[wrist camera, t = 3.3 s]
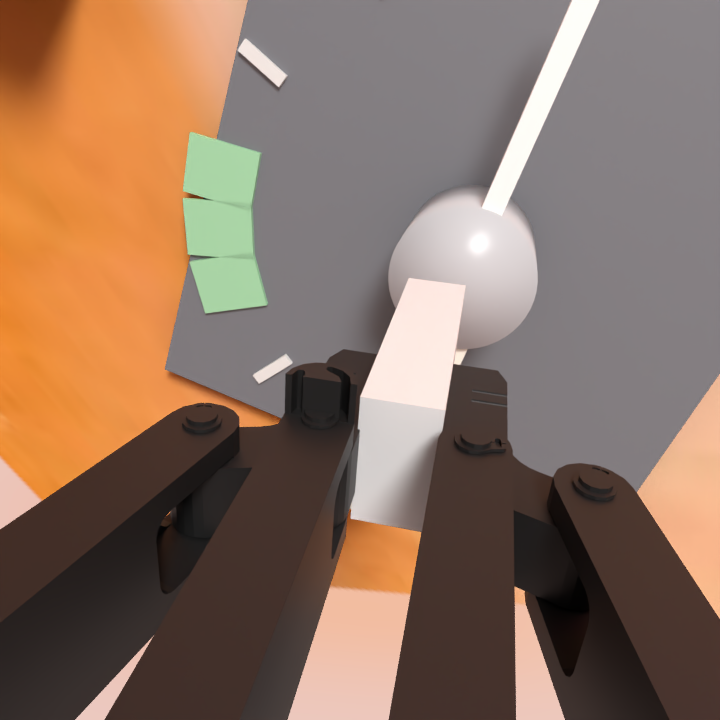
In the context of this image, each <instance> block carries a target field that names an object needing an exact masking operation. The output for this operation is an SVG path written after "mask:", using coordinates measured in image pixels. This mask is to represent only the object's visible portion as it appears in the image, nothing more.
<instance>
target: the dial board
mask: <svg viewBox="0 0 720 720" xmlns="http://www.w3.org/2000/svg"><path fill="white" fill-rule="evenodd" d="M570 2H571V0H248V2H247V7H246V11H245V16H244V20H243V24H242V29H241V33H240V38H239V42H238V47H237V51H236V56H235V60H234V64H233V69H232V73H231V78H230V82H229V87H228V91H227V95H226V100H225V104H224V109H223V113H222V118H221V122H220V127H219V131H218V135H217V139H214V138H210V137H207V136H204V135H201V134H197V133H194V132H190V135H189V144H188V152H187V160H186V169H185V177H184V185H183V191H185V192H188V193H191V194H194V195H197V196H201V197H204V198H203V199H196V198H183V207H184V218H185V229H186V239H187V250H188V255H190V260H189V264H188V269H187V273H186V278H185V282H184V286H183V291H182V295H181V300H180V304H179V309H178V313H177V317H176V322H175V326H174V331H173V335H172V340H171V344H170V349H169V353H168V357H167V362H166V366H165V370H168V371H170V372H173V373H175V374H177V375H180V376H182V377H184V378H187V379H189V380H192V381H194V382H196V383H199V384H201V385H203V386H206V387H208V388H211V389H213V390H215V391H218V392H220V393H222V394H225V395H227V396H230V397H232V398H234V399H237V400H239V401H241V402H244V403H246V404H249V405H251V406H253V407H256V408H258V409H260V410H263V411H265V412H267V413H270V414H272V415H275V416H277V417H279V418H282V417H283V415H284V413H285V374H286V373H287V372H288V371H289V370H290V369H292V368H293V367H296V366H299V365H302V364H307V363H315V362H317V363H326V362H327V361H328V359H329V357H331V356H333V355H334V354H336V353H338V352H339V351H341V350H343V349H346V350H353V351H359V352H366V353H373V354H378V352H379V350H380V347H381V345H382V342H383V340H384V337H385V335H386V332H387V330H388V328H389V325H390V323H391V320H392V318H393V315H394V313H395V310H396V308H395V306H394V304H393V301H392V299H391V295H390V291H389V283H388V272H389V265H390V261H391V257H392V254H393V252H394V250H395V248H396V245H397V244H398V242H399V241H400V239H401V237H402V236H403V234H404V233H405V231H406V229H407V228H408V226H409V225H410V223H411V221H412V220H413V218H414V217H415V215H416V214H417V212H418V211H419V210H420V208H421V207H422V206H423V205H424V204H425V203H426V202H427V201H428V200H429V199H431V198H432V197H434V196H435V195H436V194H438V193H440V192H442V191H444V190H447V189H449V188H452V187H457V186H461V185H481V186H486V187H490V186H491V183H492V181H493V179H494V177H495V174H496V172H497V170H498V167H499V165H500V163H501V160H502V158H503V156H504V154H505V151H506V149H507V147H508V144H509V142H510V140H511V138H512V135H513V133H514V131H515V128H516V126H517V124H518V121H519V119H520V117H521V115H522V112H523V110H524V108H525V105H526V103H527V101H528V98H529V96H530V94H531V92H532V89H533V87H534V85H535V82H536V80H537V78H538V75H539V73H540V71H541V69H542V66H543V64H544V62H545V59H546V57H547V55H548V52H549V50H550V48H551V46H552V43H553V41H554V39H555V36H556V34H557V32H558V29H559V27H560V25H561V23H562V20H563V18H564V16H565V13H566V11H567V9H568V6H569V4H570ZM510 198H511V199H513V200H514V201H515V202H516V203H517V204H518V205H519V206H520V207H521V208H522V210H523V211H524V213H525V214H526V216H527V217H528V219H529V221H530V224H531V226H532V229H533V233H534V238H535V248H536V260H537V272H538V284H537V292H536V295H535V299H534V302H533V304H532V307H531V309H530V311H529V313H528V314H527V316H526V318H525V319H524V320H523V321H522V323H521V324H520V325H519V326H518V327H517V328H516V329H515V330H514V331H513V332H511V333H510V334H509V335H507V336H506V337H504V338H503V339H501V340H499V341H497V342H495V343H493V344H490V345H487V346H484V347H480V348H474V349H468V350H467V352H466V354H465V356H464V358H463V360H462V362H461V364H460V365H464V366H471V367H478V368H484V369H491V370H498V371H499V373H500V374H501V375H502V376H503V378H504V379H505V380H506V381H507V419H508V441H509V442H510V444H511V447H512V449H513V456H514V457H515V458H517V459H518V460H519V461H520V462H521V463H523V464H524V465H526V466H527V467H529V468H531V469H533V470H536V471H538V472H540V473H543V474H546V475H548V476H551V477H553V476H554V474H555V473H556V471H557V469H558V468H561V467H563V466H565V465H567V464H576V463H584V464H591V465H597V466H601V467H602V468H603V467H604V468H606V469H609V470H611V471H613V472H614V473H616V474H618V475H619V476H621V477H623V478H624V479H625V480H626V481H627V482H628V483H629V484H630V485H631V486H632V487H633V488H634V490H635V491H636V492H637V491H638V489H639V488H640V487H641V485H642V484H643V482H644V481H645V479H646V478H647V477H648V475H649V474H650V472H651V471H652V469H653V468H654V467H655V465H656V464H657V462H658V461H659V459H660V458H661V457H662V455H663V454H664V452H665V451H666V449H667V448H668V447H669V445H670V444H671V442H672V441H673V439H674V438H675V437H676V435H677V434H678V432H679V431H680V430H681V428H682V427H683V425H684V424H685V422H686V421H687V420H688V418H689V417H690V415H691V414H692V412H693V411H694V410H695V408H696V407H697V405H698V404H699V402H700V401H701V400H702V398H703V397H704V395H705V394H706V392H707V391H708V390H709V388H710V387H711V385H712V384H713V382H714V381H715V380H716V378H717V377H718V375H719V374H720V0H600V1H599V3H598V5H597V7H596V9H595V12H594V14H593V16H592V18H591V20H590V23H589V25H588V27H587V29H586V31H585V34H584V36H583V38H582V40H581V42H580V45H579V47H578V49H577V51H576V53H575V56H574V58H573V60H572V62H571V65H570V67H569V69H568V71H567V73H566V76H565V78H564V80H563V82H562V84H561V87H560V89H559V91H558V93H557V95H556V98H555V100H554V102H553V104H552V106H551V109H550V111H549V113H548V115H547V117H546V120H545V122H544V124H543V126H542V128H541V131H540V133H539V135H538V137H537V139H536V142H535V144H534V146H533V148H532V151H531V153H530V155H529V157H528V159H527V162H526V164H525V166H524V168H523V170H522V173H521V175H520V177H519V179H518V181H517V184H516V186H515V188H514V190H513V192H512V195H511V197H510Z"/></svg>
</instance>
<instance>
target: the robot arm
mask: <svg viewBox="0 0 720 720" xmlns="http://www.w3.org/2000/svg"><path fill="white" fill-rule="evenodd" d="M465 287H466V285H459V284H451V283H444V282H436V281H428V280H421V279H413V278H409V279H408V281H407V283H406V286H405V288H404V291H403V293H402V296H401V298H400V301H399V303H398V306H397V308H396V310H395V313H394V315H393V318H392V320H391V323H390V325H389V328H388V330H387V332H386V335H385V337H384V340H383V342H382V345H381V347H380V350H379V352H378V354H373V353H366V352H359V351H353V350H346V349H343V350H341V351H339V352H338V353H336V354H334V355H333V356H331V357H329V359H328V361H327V362H326V363H317V362H315V363H307V364H302V365H299V366H296V367H293V368H292V369H290V370H289V371H288V372H287V373H286V374H285V413H284V415H283V417H282V418H281V420H280V422H279V423H278V424H276V425H272V426H263V427H239V417H238V415H237V414H236V413H235V412H234V411H233V410H231V409H229V408H227V407H225V406H222V405H217V404H212V403H206V404H204V403H197V404H194V405H189V406H185V407H182V408H180V409H178V410H176V411H174V412H172V413H170V414H169V415H167V416H166V417H165V418H163V419H162V420H160V421H159V422H157V423H156V424H154V425H153V426H151V427H150V428H148V429H147V430H145V431H144V432H143V433H141V434H140V435H138V436H137V437H135V438H134V439H132V440H131V441H129V442H128V443H126V444H125V445H123V446H122V447H121V448H119V449H118V450H116V451H115V452H113V453H112V454H110V455H109V456H107V457H106V458H104V459H103V460H101V461H100V462H99V463H97V464H96V465H94V466H93V467H91V468H90V469H88V470H87V471H85V472H84V473H82V474H81V475H79V476H78V477H77V478H75V479H74V480H72V481H71V482H69V483H68V484H66V485H65V486H63V487H62V488H60V489H59V490H58V491H56V492H55V493H53V494H52V495H50V496H49V497H47V498H46V499H44V500H43V501H41V502H40V503H39V504H37V505H36V506H34V507H33V508H31V509H30V510H28V511H27V512H26V513H24V514H22V515H21V516H20V517H18V518H16V519H15V520H14V521H12V522H11V523H9V524H8V525H6V526H5V527H3V528H2V529H0V720H75V719H76V718H77V717H78V716H79V715H80V714H81V713H82V712H83V711H84V709H85V708H86V707H87V706H88V705H89V704H90V703H91V702H92V701H93V700H94V699H95V698H96V697H97V696H98V694H99V693H100V692H101V691H102V690H103V689H104V688H105V687H106V686H107V685H108V684H109V682H110V681H111V680H112V679H113V678H114V677H115V676H116V675H117V674H118V673H119V672H120V671H121V670H122V669H123V668H124V667H125V666H126V665H127V663H128V662H129V661H130V660H131V659H132V658H133V657H134V656H135V655H136V654H137V653H138V652H139V651H140V649H141V648H142V647H143V646H144V645H145V644H146V643H147V642H148V641H149V640H150V639H151V638H152V637H153V636H154V637H153V638H152V640H151V642H150V643H149V645H148V647H147V648H146V650H145V652H144V654H143V655H142V657H141V659H140V660H139V662H138V664H137V665H136V667H135V669H134V671H133V672H132V674H131V676H130V677H129V679H128V681H127V682H126V684H125V686H124V688H123V689H122V691H121V693H120V694H119V696H118V698H117V700H116V701H115V703H114V705H113V706H112V708H111V710H110V711H109V713H108V715H107V716H106V718H105V720H287V719H288V716H289V713H290V709H291V707H292V704H293V700H294V697H295V694H296V691H297V688H298V685H299V682H300V678H301V675H302V672H303V669H304V666H305V663H306V660H307V656H308V653H309V650H310V647H311V644H312V641H313V637H314V634H315V631H316V628H317V625H318V622H319V619H320V616H321V612H322V609H323V606H324V603H325V600H326V597H327V594H328V590H329V587H330V584H331V581H332V578H333V575H334V572H335V569H336V565H337V562H338V559H339V556H340V553H341V550H342V547H343V543H344V540H345V537H346V526H347V515H348V512H349V509H350V506H351V503H352V507H351V519H355V520H361V521H366V522H371V523H377V524H382V525H387V526H393V527H398V528H404V529H409V530H414V531H420V532H422V533H421V539H420V544H419V550H418V556H417V561H416V567H415V573H414V578H413V584H412V590H411V596H410V602H409V607H408V613H407V618H406V624H405V630H404V636H403V641H402V647H401V652H400V659H399V664H398V670H397V676H396V681H395V687H394V692H393V698H392V704H391V710H390V716H389V720H516V689H515V688H516V686H515V597H514V586H515V587H518V588H520V589H522V590H524V591H525V602H526V606H527V609H528V612H529V614H530V618H531V620H532V623H533V626H534V630H535V633H536V635H537V638H538V641H539V644H540V647H541V650H542V653H543V656H544V659H545V662H546V665H547V668H548V670H549V674H550V677H551V680H552V682H553V686H554V689H555V691H556V694H557V697H558V700H559V703H560V706H561V709H562V712H563V715H564V718H565V720H720V619H719V617H718V616H717V614H716V613H715V611H714V610H713V608H712V607H711V605H710V604H709V602H708V601H707V599H706V598H705V596H704V595H703V593H702V592H701V590H700V588H699V587H698V585H697V584H696V582H695V581H694V579H693V578H692V576H691V575H690V573H689V572H688V570H687V569H686V567H685V566H684V564H683V563H682V561H681V560H680V558H679V557H678V555H677V553H676V552H675V550H674V549H673V547H672V546H671V544H670V543H669V541H668V540H667V538H666V537H665V535H664V534H663V532H662V531H661V529H660V528H659V526H658V525H657V523H656V522H655V520H654V518H653V517H652V515H651V514H650V512H649V511H648V509H647V508H646V506H645V505H644V503H643V502H642V500H641V499H640V497H639V496H638V494H637V493H636V491H635V490H634V488H633V487H632V486H631V485H630V484H629V483H628V482H627V481H626V480H625V479H624V478H623V477H621V476H619V475H618V474H616V473H614V472H613V471H611V470H609V469H606V468H604V467H603V468H602V467H601V466H597V465H591V464H584V463H576V464H567V465H565V466H563V467H561V468H558V469H557V471H556V473H555V474H554V476H553V477H551V476H548V475H546V474H543V473H540V472H538V471H536V470H533V469H531V468H529V467H527V466H526V465H524V464H523V463H521V462H520V461H519V460H518V459H517V458H515V457H514V456H513V449H512V447H511V444H510V442H509V441H508V419H507V381H506V380H505V379H504V378H503V376H502V375H501V374H500V373H499V371H498V370H491V369H484V368H478V367H471V366H464V365H458V364H454V361H455V354H456V348H457V341H458V334H459V328H460V321H461V314H462V307H463V301H464V294H465ZM169 512H170V514H169V515H167V514H168V513H169ZM166 515H167V516H166Z"/></svg>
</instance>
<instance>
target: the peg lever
mask: <svg viewBox="0 0 720 720" xmlns="http://www.w3.org/2000/svg"><path fill="white" fill-rule="evenodd" d="M599 1H600V0H571V2H570V4H569V6H568V9H567V11H566V13H565V16H564V18H563V20H562V23H561V25H560V27H559V29H558V32H557V34H556V36H555V39H554V41H553V43H552V46H551V48H550V50H549V52H548V55H547V57H546V59H545V62H544V64H543V66H542V69H541V71H540V73H539V75H538V78H537V80H536V82H535V85H534V87H533V89H532V92H531V94H530V96H529V98H528V101H527V103H526V105H525V108H524V110H523V112H522V115H521V117H520V119H519V121H518V124H517V126H516V128H515V131H514V133H513V135H512V138H511V140H510V142H509V144H508V147H507V149H506V151H505V154H504V156H503V158H502V160H501V163H500V165H499V167H498V170H497V172H496V174H495V177H494V179H493V181H492V183H491V186H490V187H486V186H481V185H461V186H457V187H452V188H449V189H447V190H444V191H442V192H440V193H438V194H436V195H435V196H434V197H432V198H431V199H429V200H428V201H427V202H426V203H425V204H424V205H423V206H422V207H421V208H420V210H419V211H418V212H417V214H416V215H415V217H414V218H413V220H412V221H411V223H410V225H409V226H408V228H407V229H406V231H405V233H404V234H403V236H402V237H401V239H400V241H399V242H398V244H397V245H396V248H395V250H394V252H393V254H392V257H391V261H390V265H389V272H388V283H389V291H390V295H391V299H392V301H393V304H394V306H395V308H397V306H398V303H399V301H400V298H401V296H402V293H403V291H404V288H405V286H406V283H407V281H408V279H409V278H413V279H421V280H428V281H436V282H444V283H451V284H459V285H466V287H465V294H464V301H463V307H462V314H461V321H460V328H459V334H458V341H457V348H456V354H455V361H454V364H458V365H460V364H461V362H462V360H463V358H464V356H465V354H466V352H467V350H468V349H474V348H480V347H484V346H487V345H490V344H493V343H495V342H497V341H499V340H501V339H503V338H504V337H506V336H507V335H509V334H510V333H511V332H513V331H514V330H515V329H516V328H517V327H518V326H519V325H520V324H521V323H522V321H523V320H524V319H525V318H526V316H527V314H528V313H529V311H530V309H531V307H532V304H533V302H534V299H535V295H536V292H537V284H538V272H537V260H536V248H535V238H534V233H533V229H532V226H531V224H530V221H529V219H528V217H527V216H526V214H525V213H524V211H523V210H522V208H521V207H520V206H519V205H518V204H517V203H516V202H515V201H514V200H513V199H511V198H510V197H511V195H512V192H513V190H514V188H515V186H516V184H517V181H518V179H519V177H520V175H521V173H522V170H523V168H524V166H525V164H526V162H527V159H528V157H529V155H530V153H531V151H532V148H533V146H534V144H535V142H536V139H537V137H538V135H539V133H540V131H541V128H542V126H543V124H544V122H545V120H546V117H547V115H548V113H549V111H550V109H551V106H552V104H553V102H554V100H555V98H556V95H557V93H558V91H559V89H560V87H561V84H562V82H563V80H564V78H565V76H566V73H567V71H568V69H569V67H570V65H571V62H572V60H573V58H574V56H575V53H576V51H577V49H578V47H579V45H580V42H581V40H582V38H583V36H584V34H585V31H586V29H587V27H588V25H589V23H590V20H591V18H592V16H593V14H594V12H595V9H596V7H597V5H598V3H599ZM351 507H352V503H351V506H350V509H351Z"/></svg>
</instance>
